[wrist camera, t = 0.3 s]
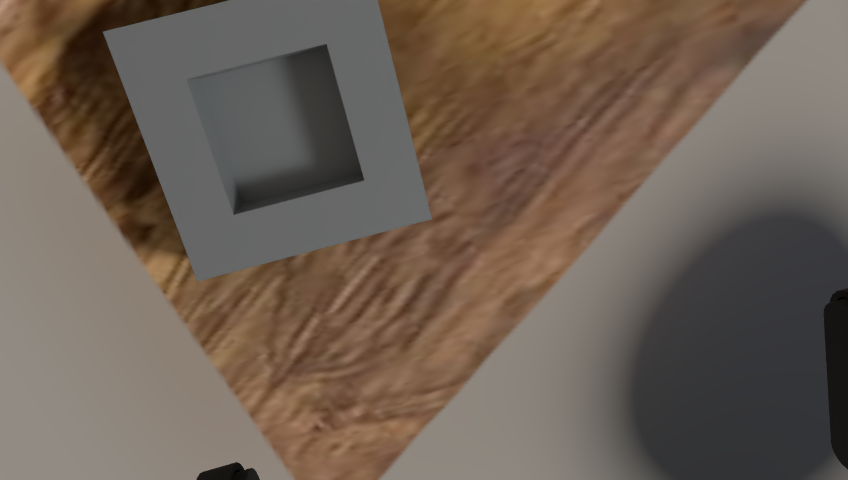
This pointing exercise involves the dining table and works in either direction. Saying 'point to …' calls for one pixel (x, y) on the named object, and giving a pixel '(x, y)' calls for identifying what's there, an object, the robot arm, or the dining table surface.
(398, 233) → the dining table surface
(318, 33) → the gray square socket block
